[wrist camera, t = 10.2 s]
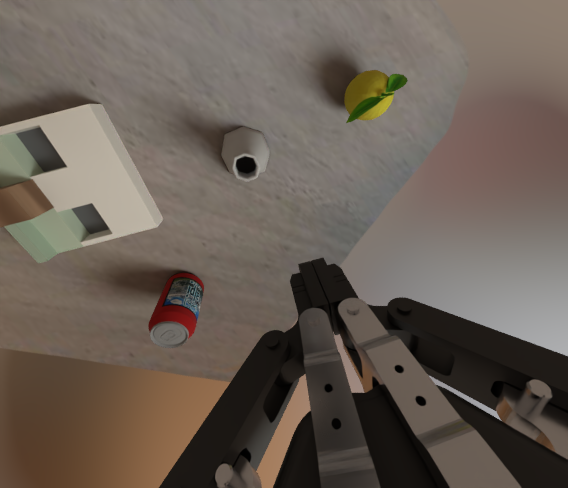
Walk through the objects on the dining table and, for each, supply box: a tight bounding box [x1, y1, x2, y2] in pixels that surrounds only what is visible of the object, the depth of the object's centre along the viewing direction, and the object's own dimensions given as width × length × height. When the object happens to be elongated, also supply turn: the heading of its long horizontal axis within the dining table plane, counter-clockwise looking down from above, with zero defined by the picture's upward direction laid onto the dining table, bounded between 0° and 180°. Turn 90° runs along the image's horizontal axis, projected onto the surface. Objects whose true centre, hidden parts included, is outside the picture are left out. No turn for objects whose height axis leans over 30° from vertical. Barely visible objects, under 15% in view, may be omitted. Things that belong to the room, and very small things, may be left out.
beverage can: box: [149, 273, 204, 348], centre depth 41 cm, size 7×7×12 cm
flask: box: [221, 127, 270, 182], centre depth 31 cm, size 7×7×10 cm
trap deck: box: [0, 104, 163, 263], centre depth 32 cm, size 17×16×5 cm
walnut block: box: [0, 179, 54, 227], centre depth 30 cm, size 4×4×4 cm
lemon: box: [344, 70, 407, 123], centre depth 30 cm, size 7×6×10 cm
